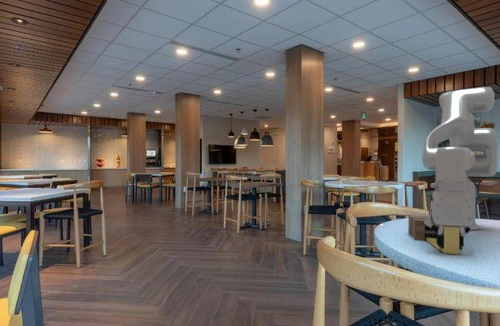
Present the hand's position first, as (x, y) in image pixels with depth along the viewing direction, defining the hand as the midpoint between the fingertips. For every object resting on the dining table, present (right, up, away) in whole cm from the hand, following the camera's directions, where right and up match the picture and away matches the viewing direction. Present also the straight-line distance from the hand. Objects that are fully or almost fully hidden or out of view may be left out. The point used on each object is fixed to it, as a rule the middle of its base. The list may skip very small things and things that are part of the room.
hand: (449, 247), depth 93 cm
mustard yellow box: (+2, -1, +7) cm, 7 cm away
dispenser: (+5, -2, +19) cm, 20 cm away
